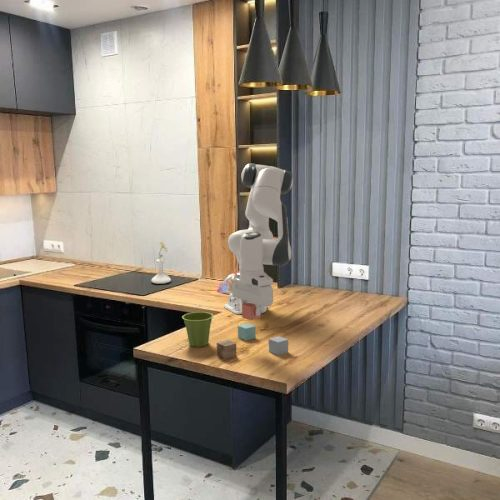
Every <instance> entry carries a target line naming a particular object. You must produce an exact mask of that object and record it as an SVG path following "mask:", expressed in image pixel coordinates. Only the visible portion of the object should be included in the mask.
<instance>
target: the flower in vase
mask: <svg viewBox="0 0 500 500" xmlns="http://www.w3.org/2000/svg"><path fill="white" fill-rule="evenodd" d="M159 243H160V246H161V247H160V249H159V253H158V255H159V256H158V258H159V259H156V260H155V261H156V263H157V265H158V273H157V274H156V275H154V277H152V278H151V280H150V281H151V282H152V283H153V284H157V285H158V284H161V285H163V284H167V283H170V282H171V280H172V279H171V278H170V276H168V275H167V274H166V273H165V272H164V266H163V265H164V262H165V259H164V258H163V259H162V257H163V254H161V252H162V249H163V250H164V251H165V252H166V253H167V252H169V251H168V248H167V247H166V244H165V243H163V241H162V240H159Z"/></svg>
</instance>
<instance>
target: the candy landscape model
mask: <svg viewBox="0 0 500 500" xmlns="http://www.w3.org/2000/svg"><path fill="white" fill-rule="evenodd" d="M237 271H238V272H236V274H237V273H239V270H237ZM234 276H235V273H231V274H228V275H227V277H226V279H224V281H222V282H221V281H219V284H218V287H217V289H216V291H217V292H218V293H220V294H227V295H230V294H231V293H232V285H233V280H234Z"/></svg>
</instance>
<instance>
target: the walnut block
mask: <svg viewBox="0 0 500 500" xmlns="http://www.w3.org/2000/svg"><path fill="white" fill-rule="evenodd" d="M216 356H217V357H219V358H221V359H223V360H225V359H226V360H228V359H232V358H235V356H236V357H237V343H236V342H234V341H232V340H229V339H225V340H222V341H218V342H216Z"/></svg>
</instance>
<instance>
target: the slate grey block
mask: <svg viewBox="0 0 500 500" xmlns="http://www.w3.org/2000/svg"><path fill="white" fill-rule="evenodd" d="M268 352H269V353H271V354H273V355H276V356H281V355H284V354H287V353H289V339H288V338H285V337H282V336H280V335H279V336H275V337H270V338H269V339H268Z"/></svg>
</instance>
